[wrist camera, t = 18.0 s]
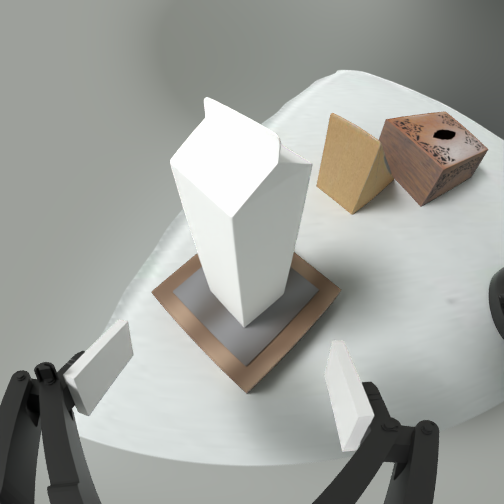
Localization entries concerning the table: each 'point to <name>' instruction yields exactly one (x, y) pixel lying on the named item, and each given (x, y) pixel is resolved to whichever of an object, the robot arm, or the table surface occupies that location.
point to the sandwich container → (352, 165)
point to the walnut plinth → (255, 333)
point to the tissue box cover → (430, 153)
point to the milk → (241, 207)
